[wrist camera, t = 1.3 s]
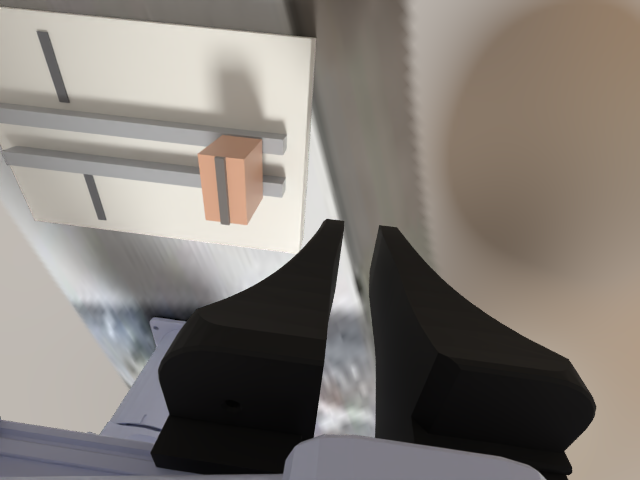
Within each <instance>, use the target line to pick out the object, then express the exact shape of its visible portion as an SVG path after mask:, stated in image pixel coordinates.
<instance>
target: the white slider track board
mask: <svg viewBox="0 0 640 480" xmlns="http://www.w3.org/2000/svg"><path fill="white" fill-rule="evenodd" d="M315 51H316V38H313V37H303V36H293V35H283V34H272V33H262V32H252V31H242V30H232V29H222V28H212V27H202V26H192V25H182V24H172V23H162V22H152V21H142V20H132V19H122V18H111V17H101V16H91V15H81V14H71V13H61V12H51V11H41V10H31V9H21V8H11V7H1V6H0V145H1V147H2V149H3V150H2V151H1V153H2V155H3V157H4V159H5V162H6V164H7V165H10V167H11V169H12V171H13V174H14V176H15V178H16V180H17V182H18V185H19V187H20V189H21V191H22V194H23V196H24V198H25V200H26V202H27V205H28V207H29V209H30V211H31V213H32V216H33V218H34V220H35V221H42V222H49V223H57V224H65V225H73V226H81V227H89V228H97V229H105V230H112V231H120V232H128V233H136V234H144V235H152V236H160V237H168V238H175V239H183V240H191V241H199V242H207V243H215V244H223V245H231V246H239V247H246V248H254V249H262V250H270V251H278V252H286V253H294V254H297V253H298V252H299V251H300V249H301V245H302V241H303V237H304V221H305V206H306V190H307V175H308V159H309V144H310V128H311V113H312V97H313V82H314V66H315ZM222 135H228V136H237V137H245V138H254V139H262V167H263V199H262V200H261V202H260V204H259V206H258V207H257V209H256V211H255V213H254V214H253V216H252V218H251V220H250V221H249V223H248V225H241V224H233V223H230V225H222V224H221V222H217V221H209V220H206V219H205V211H204V203H203V195H202V187H201V179H200V171H199V163H198V153H199V152H201V151H202V150H203V149H205V148H206V147H207V146H209V145H210V144H211V143H213V142H214V141H215V140H216V139H218V138H219V137H220V136H222Z"/></svg>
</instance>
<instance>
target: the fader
mask: <svg viewBox="0 0 640 480" xmlns="http://www.w3.org/2000/svg"><path fill="white" fill-rule="evenodd" d="M198 163H199V171H200V179H201V187H202V195H203V203H204V211H205V219H206V220H209V221H217V222H221V224H222V225H230V223H233V224H241V225H248V223H249V221H250V220H251V218H252V216H253V214H254V213H255V211H256V209H257V207H258V206H259V204H260V202H261V200H262V199H263V167H262V139H254V138H245V137H237V136H228V135H222V136H220V137H219V138H218V139H216V140H215V141H214V142H213V143H211V144H210V145H209V146H207V147H206V148H205V149H203V150H202V151H201V152H199V153H198Z"/></svg>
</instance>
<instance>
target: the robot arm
mask: <svg viewBox="0 0 640 480" xmlns="http://www.w3.org/2000/svg"><path fill="white" fill-rule="evenodd" d="M343 232H344V221H340V220H331V219H326V220H325V221H323V223H322V225H321V227H320V228H319V230H318V231H317V232H316V234H315V235H314V236H313V237H312V239H311V240H310V241H309V242H308V243H307V244H306V245H305V246H304V248H303V249H302V250H300V251H299V252H298V253H297V254H296V255H295V256H294V257H293V258H292V259H291V260H290V261H289V262H288V263H286V264H285V265H284V266H283V267H281V268H280V269H279V270H277V271H276V272H275V273H273V274H272V275H270V276H269V277H267V278H266V279H264V280H262V281H261V282H259V283H257V284H256V285H254V286H252V287H250V288H248V289H246V290H244V291H242V292H240V293H238V294H235V295H233V296H231V297H228V298H226V299H223V300H221V301H218V302H215V303H213V304H210V305H207V306H204V307H201V308H198V309H196V310H195V311H194V313H193V314H192V315H191V317H190V318H189V319H188V320H187V322H186V321H179V320H172V319H165V318H157V317H154V318H152V319H151V320H150V326H151V330H152V333H153V337H154V340H155V343H156V347H157V348H156V349H155V351H154V352H153V354H152V356H151V357H150V359H149V360H148V362H147V363H146V365H145V366H144V368H143V370H142V371H141V373H140V374H139V376H138V377H137V379H136V381H135V382H134V384H133V385H132V387H131V388H130V390H129V391H128V393H127V395H126V396H125V398H124V399H123V401H122V403H121V404H120V406H119V407H118V409H117V410H116V412H115V413H114V415H113V417H112V418H111V420H110V421H109V422H108V423H107V424H106V426H105V427H104V429H103V430H102V431H101V433H100V434H99V435H96V434H94V433H92V432H87V433H83V432H77V431H70V430H64V429H57V428H51V427H44V426H37V425H30V424H25V423H18V422H12V421H5V420H1V417H0V480H568V479H567V476H566V475H570V474H571V473H572V466H571V464H570V462H569V460H568V458H567V456H566V454H565V452H564V451H565V450H566V449H567V448H568V447H569V446H570V445H571V444H572V443H573V442H574V441H575V440H576V439H577V438H578V437H579V436H580V435H581V434H582V433H583V432H584V431H585V430H586V429H587V427H588V426H589V424H590V423H591V422H592V420H593V418H594V416H595V411H596V405H595V402H594V399H593V397H592V395H591V393H590V392H589V390H588V389H587V387H586V386H585V384H584V382H583V381H582V379H581V378H580V376H579V375H578V373H577V371H576V370H575V368H574V367H573V365H572V364H571V362H570V361H569V359H567V358H565V357H563V356H561V355H559V354H557V353H555V352H553V351H551V350H549V349H547V348H545V347H543V346H541V345H539V344H537V343H535V342H533V341H531V340H529V339H528V338H526V337H524V336H522V335H520V334H519V333H517V332H515V331H514V330H512V329H510V328H508V327H507V326H505V325H503V324H502V323H500V322H499V321H497V320H495V319H494V318H492V317H491V316H489V315H488V314H486V313H485V312H483V311H482V310H481V309H479V308H478V307H476V306H475V305H473V304H472V303H471V302H469V301H468V300H467V299H465V298H464V297H463V296H461V295H460V294H459V293H458V292H457V291H455V290H454V289H453V288H452V287H451V286H450V285H448V284H447V283H446V282H445V281H444V280H443V279H442V278H441V277H440V276H439V275H438V274H437V273H436V272H435V271H434V270H433V269H432V268H431V267H430V266H429V265H428V264H427V263H426V262H425V261H424V260H423V259H422V258H421V256H420V255H419V254H418V253H417V252H416V251H415V249H414V248H413V247H412V246H411V245H410V243H409V242H408V241H407V240H406V238H405V237H404V236H403V234H402V233H401V232H400V231H399V229H398V228H397V227H389V226H381V225H379V229H378V234H377V239H376V244H375V248H374V253H373V258H372V263H371V268H370V279H369V298H370V308H371V317H372V326H373V335H374V344H375V356H376V426H375V438H372V437H365V436H358V435H325V434H323V435H321V436H318V437H315V438H313V437H314V431H315V424H316V417H317V410H318V403H319V396H320V388H321V381H322V374H323V367H324V359H325V349H326V340H327V328H328V321H329V316H330V312H331V307H332V303H333V298H334V293H335V288H336V281H337V274H338V267H339V260H340V253H341V246H342V239H343Z"/></svg>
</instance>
